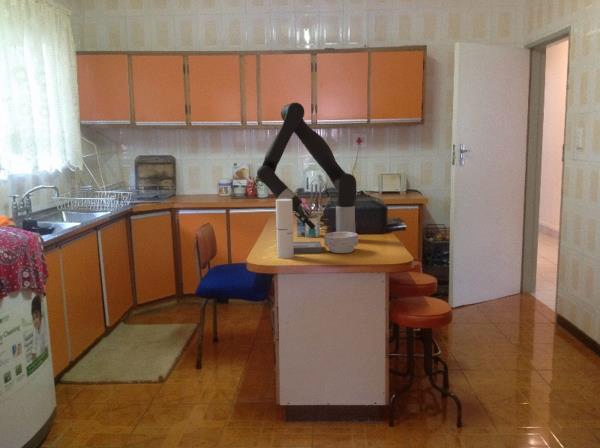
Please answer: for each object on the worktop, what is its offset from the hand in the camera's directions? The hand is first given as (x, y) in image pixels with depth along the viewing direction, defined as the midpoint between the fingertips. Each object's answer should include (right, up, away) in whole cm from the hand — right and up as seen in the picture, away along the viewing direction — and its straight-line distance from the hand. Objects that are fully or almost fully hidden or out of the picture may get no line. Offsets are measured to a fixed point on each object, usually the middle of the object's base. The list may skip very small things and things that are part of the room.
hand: (315, 226), depth 248 cm
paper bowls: (+12, -11, -1) cm, 16 cm away
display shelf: (-6, -11, +3) cm, 13 cm away
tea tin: (-2, -5, +1) cm, 5 cm away
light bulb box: (-3, -5, +36) cm, 37 cm away
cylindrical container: (-13, -13, -9) cm, 21 cm away
